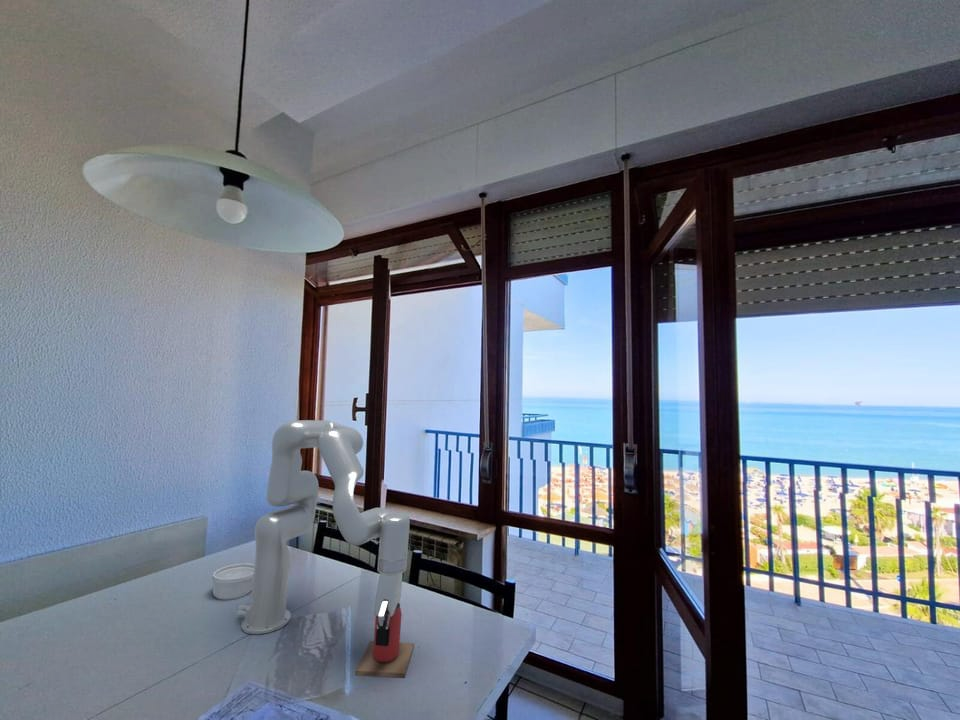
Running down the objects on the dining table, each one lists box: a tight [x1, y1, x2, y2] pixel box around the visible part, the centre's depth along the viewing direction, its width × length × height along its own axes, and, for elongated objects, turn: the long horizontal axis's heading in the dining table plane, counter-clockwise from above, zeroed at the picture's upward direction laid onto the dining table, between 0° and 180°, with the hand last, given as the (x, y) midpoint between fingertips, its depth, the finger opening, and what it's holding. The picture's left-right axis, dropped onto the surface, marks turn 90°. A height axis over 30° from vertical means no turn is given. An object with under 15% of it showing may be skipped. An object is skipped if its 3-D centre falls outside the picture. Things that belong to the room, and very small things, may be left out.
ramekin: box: [212, 562, 255, 601], centre depth 129 cm, size 13×13×7 cm
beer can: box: [373, 602, 402, 663], centre depth 98 cm, size 7×7×12 cm
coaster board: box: [354, 640, 415, 679], centre depth 97 cm, size 12×12×1 cm
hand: (387, 633), depth 98 cm, fingers open, 9 cm apart
